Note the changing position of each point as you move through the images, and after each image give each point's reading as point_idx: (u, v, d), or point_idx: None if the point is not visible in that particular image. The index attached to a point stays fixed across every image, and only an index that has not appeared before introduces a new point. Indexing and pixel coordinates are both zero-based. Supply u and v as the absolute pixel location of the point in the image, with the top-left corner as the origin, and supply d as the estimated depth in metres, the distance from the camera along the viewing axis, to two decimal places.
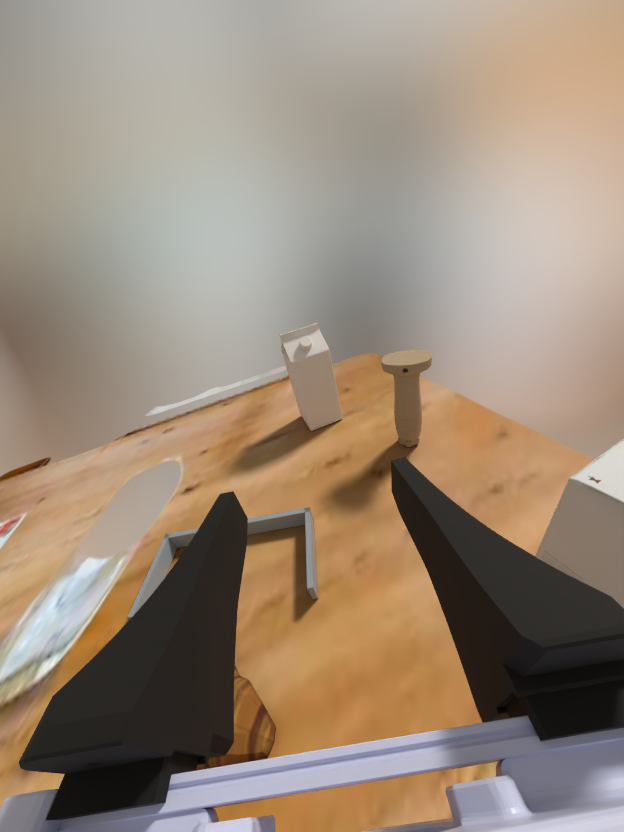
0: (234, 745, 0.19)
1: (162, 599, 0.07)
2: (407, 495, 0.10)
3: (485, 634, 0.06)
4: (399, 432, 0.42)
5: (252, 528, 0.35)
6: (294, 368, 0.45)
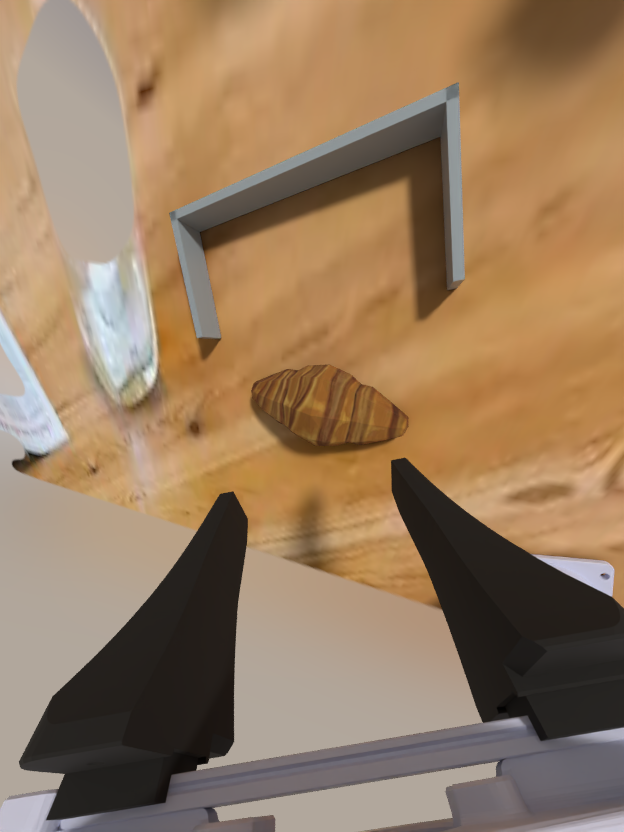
0: (375, 436, 0.20)
1: (162, 600, 0.07)
2: (407, 495, 0.10)
3: (485, 634, 0.06)
4: None
5: (319, 171, 0.18)
6: None
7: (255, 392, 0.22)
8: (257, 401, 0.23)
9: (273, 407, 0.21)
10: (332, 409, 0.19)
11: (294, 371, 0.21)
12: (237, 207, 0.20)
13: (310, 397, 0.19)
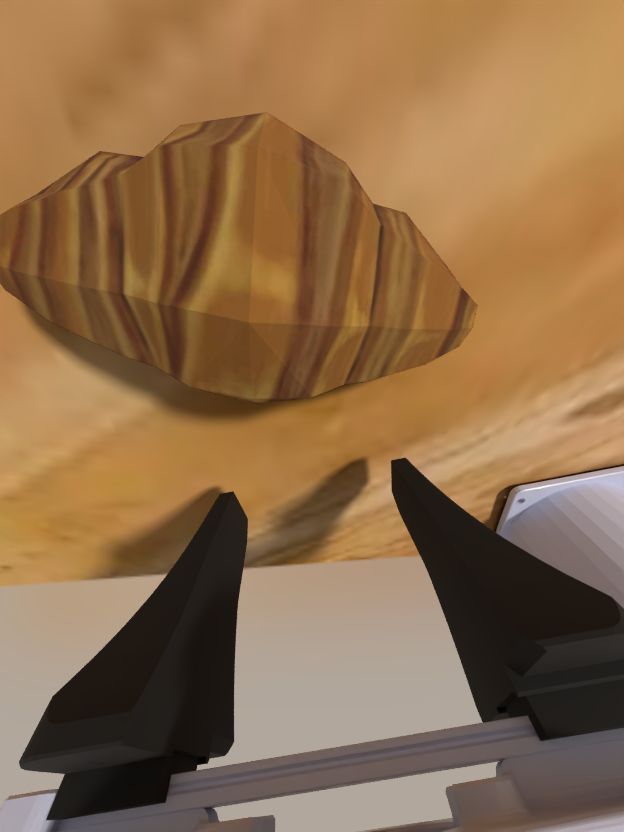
0: (414, 359, 0.08)
1: (162, 599, 0.07)
2: (407, 495, 0.10)
3: (485, 634, 0.06)
4: None
5: None
6: None
7: (0, 265, 0.06)
8: (27, 300, 0.07)
9: (93, 313, 0.06)
10: (319, 292, 0.05)
11: (130, 158, 0.06)
12: None
13: (231, 245, 0.05)
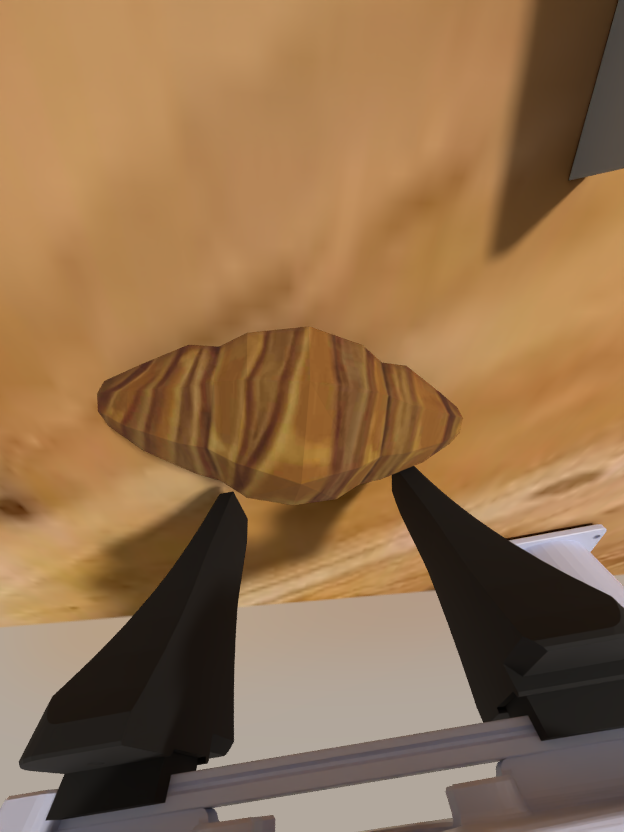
0: (413, 462, 0.10)
1: (162, 599, 0.07)
2: (407, 495, 0.10)
3: (485, 634, 0.06)
4: None
5: None
6: None
7: (112, 418, 0.08)
8: (127, 436, 0.09)
9: (181, 453, 0.08)
10: (346, 450, 0.08)
11: (211, 351, 0.08)
12: None
13: (290, 436, 0.07)
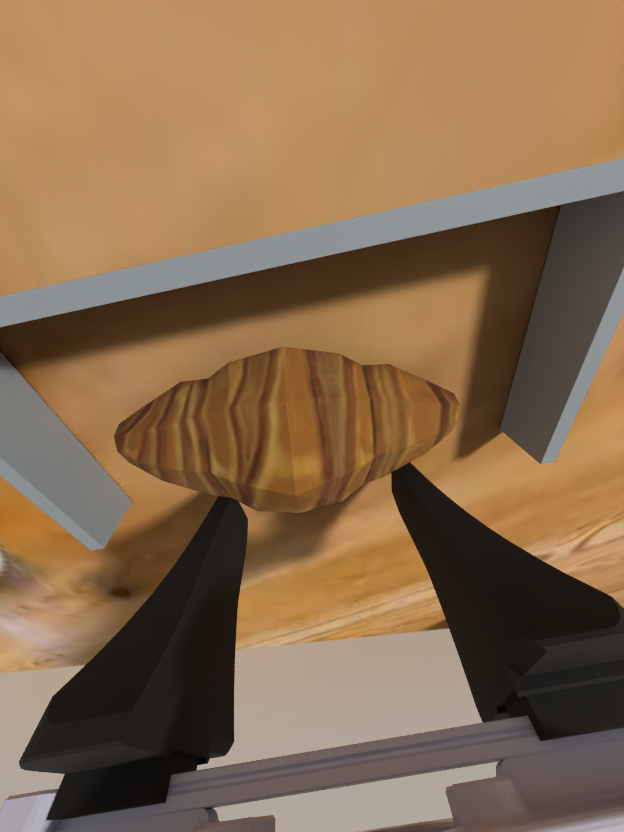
0: (414, 455, 0.10)
1: (162, 599, 0.07)
2: (407, 495, 0.10)
3: (485, 634, 0.06)
4: None
5: None
6: None
7: (129, 456, 0.10)
8: (145, 470, 0.10)
9: (191, 479, 0.09)
10: (336, 458, 0.08)
11: (200, 384, 0.09)
12: None
13: (278, 453, 0.07)
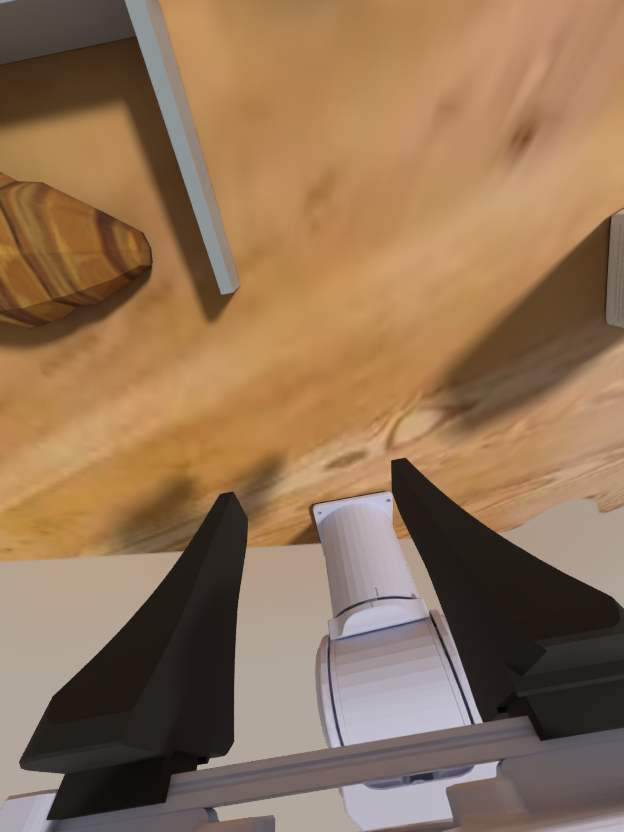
0: (93, 275, 0.12)
1: (162, 600, 0.07)
2: (407, 495, 0.10)
3: (485, 634, 0.06)
4: None
5: None
6: None
7: None
8: None
9: None
10: None
11: None
12: None
13: None
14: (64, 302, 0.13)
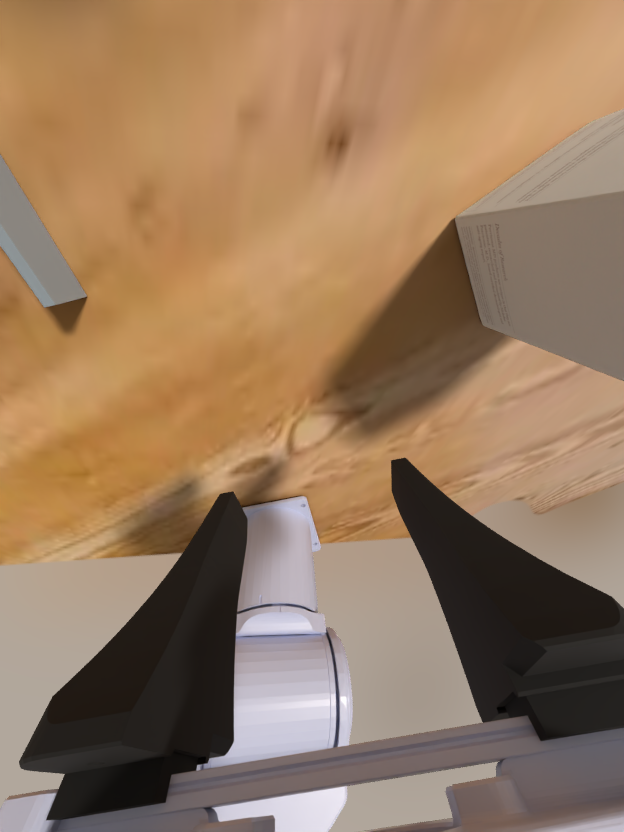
0: None
1: (162, 599, 0.07)
2: (407, 495, 0.10)
3: (485, 634, 0.06)
4: None
5: None
6: None
7: None
8: None
9: None
10: None
11: None
12: None
13: None
14: None
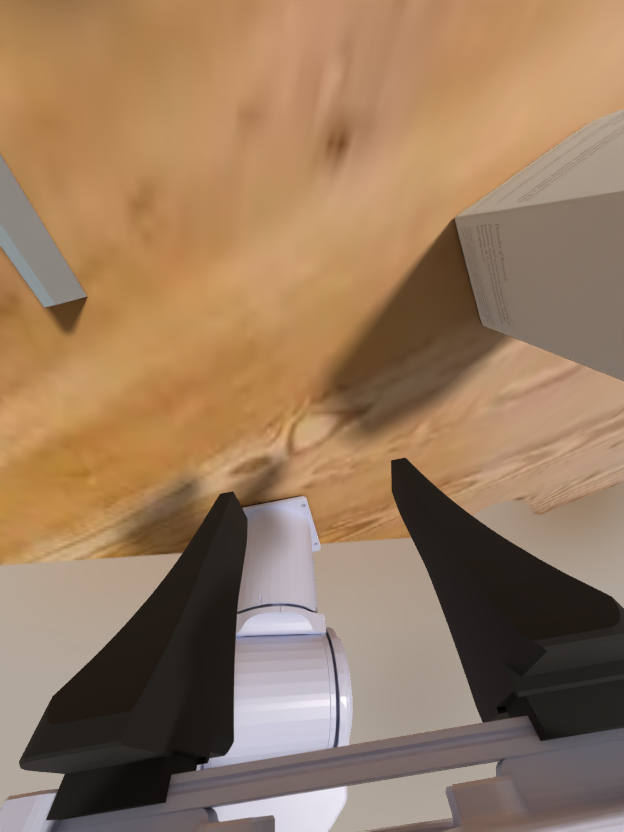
0: None
1: (162, 599, 0.07)
2: (407, 495, 0.10)
3: (485, 634, 0.06)
4: None
5: None
6: None
7: None
8: None
9: None
10: None
11: None
12: None
13: None
14: None
